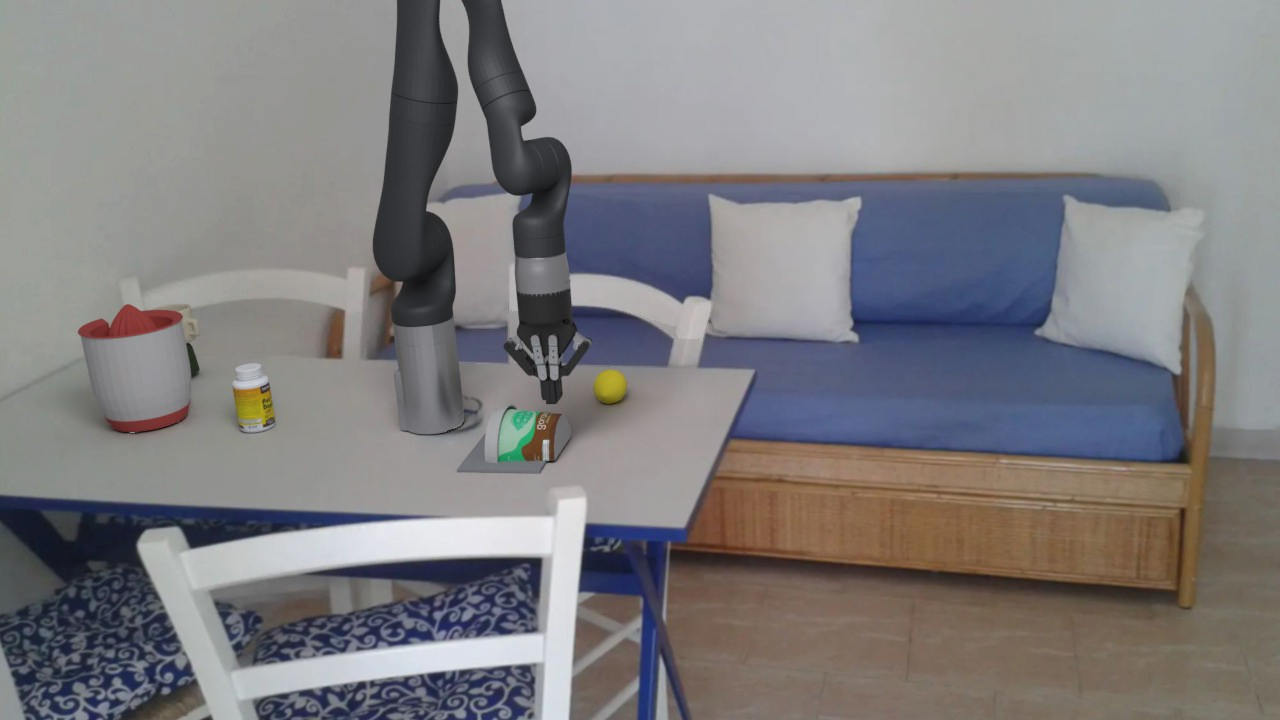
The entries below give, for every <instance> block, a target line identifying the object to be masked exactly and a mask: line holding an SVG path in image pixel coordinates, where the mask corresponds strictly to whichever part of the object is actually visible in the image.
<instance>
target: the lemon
mask: <svg viewBox="0 0 1280 720" xmlns="http://www.w3.org/2000/svg"><path fill="white" fill-rule="evenodd" d="M593 382H594V383H593V386H592V389H593V393H594V396H595V397H596V398H597V400H598V401H600V402H601V403H603V404H607V405H611V404H615V403H618V402H619V401H621V399H623V398H624V397H625V395H626V393H627V391H628V382H627V380H626V377H625V375H624V374H623V373H622V372H620V371H619V370H616V369H605V370H603V371H601V372H599V373H598V375H597V376H596V377H595V379H594V381H593Z"/></svg>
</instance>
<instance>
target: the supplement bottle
mask: <svg viewBox="0 0 1280 720" xmlns="http://www.w3.org/2000/svg"><path fill="white" fill-rule="evenodd" d="M234 372H235V377H236V378H235V379H234V380H233V381H232V383H231V385H232V386H231V387H232V393H233V397H234V403H235V410H236V415H237V416H236V417H237V423H238V428H239V430H240V431H242V432H244V433H247V434H252V433H253V434H254V433H255V434H256V433H261V432H265V431H268V430H270V429H273V427H274V426H275V425H276V417H275V416H276V415H275V412H274V411H275V410H274V405H273V397H272V392H271V386H270V379H269V377H268V376H267V375H265V374H264V372H263V369H262V364H260V363H257V362H255V363H254V362H253V363H245V364H242V365H239V366H237V367H235V369H234Z"/></svg>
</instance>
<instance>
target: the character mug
mask: <svg viewBox="0 0 1280 720" xmlns="http://www.w3.org/2000/svg"><path fill="white" fill-rule="evenodd" d="M151 310H171V311H176V312H179V313H181V314H182V316H183V319H182V324H183V330H184V335H185V340H186V346H187V351H188V357H189V362H190V369H191V377H192V376H194V375H195V374H197V373H199V372H200V371H201V370H200V365H199V362H198V359H197V356H196V353H195V350H194V347H193V345H192V344H191V342H193V341H195V340H196V337H199V336H200V335H201V329H200V324H199V323H200V322H199V320H198V319H197V318H194V317H193V310H192V307H191V305H190V304H188V303H187V304H186V303H174V304H172V303H171V304H167V305H162V306H157V307H155V308H152V309H151Z"/></svg>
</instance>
